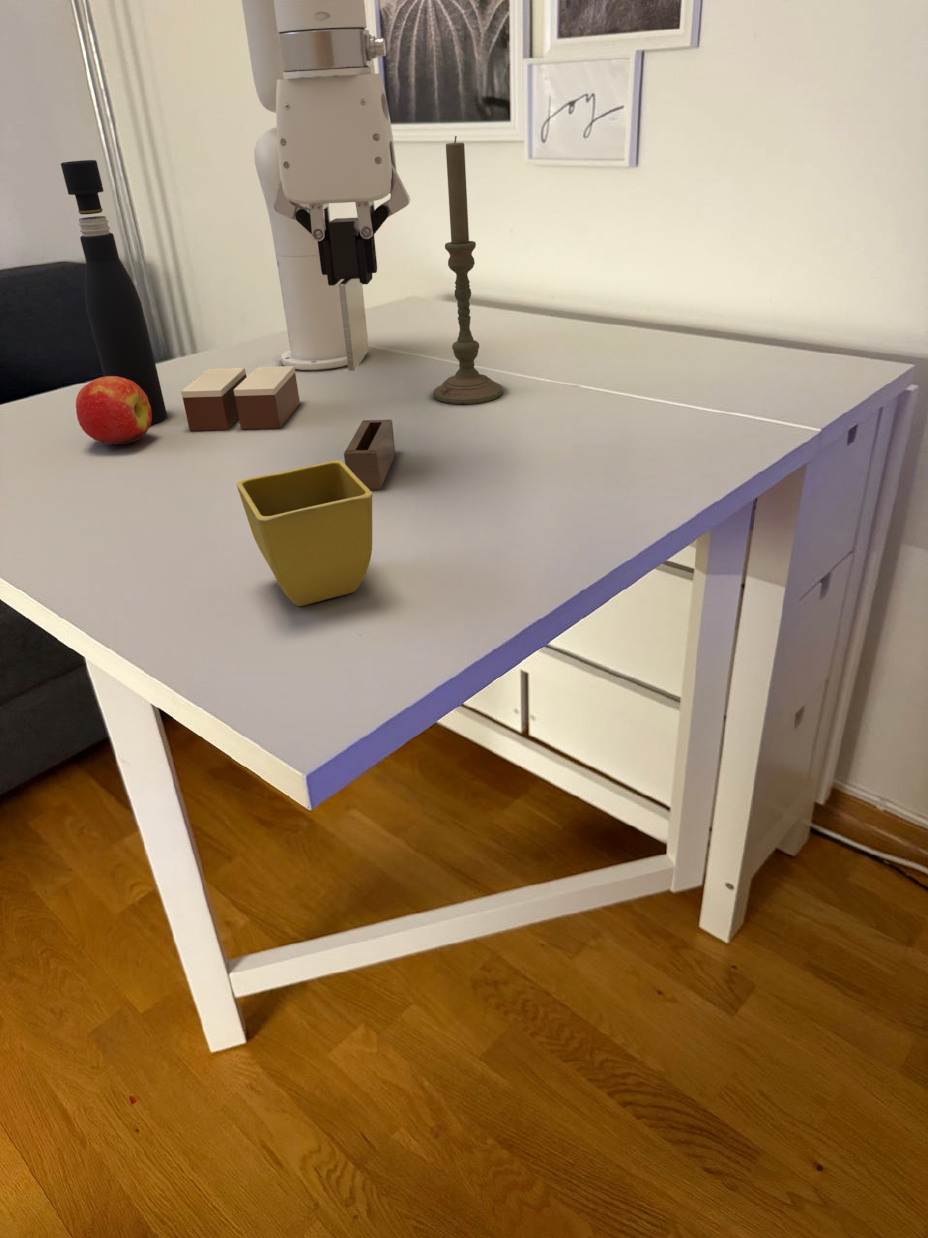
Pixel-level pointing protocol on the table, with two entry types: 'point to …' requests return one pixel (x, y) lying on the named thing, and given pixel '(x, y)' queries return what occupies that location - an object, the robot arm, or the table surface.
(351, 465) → the knife block
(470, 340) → the candlestick holder
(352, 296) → the knife
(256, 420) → the cake slice
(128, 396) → the apple
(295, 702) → the table surface
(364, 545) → the flower pot
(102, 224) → the wine bottle
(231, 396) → the cake
